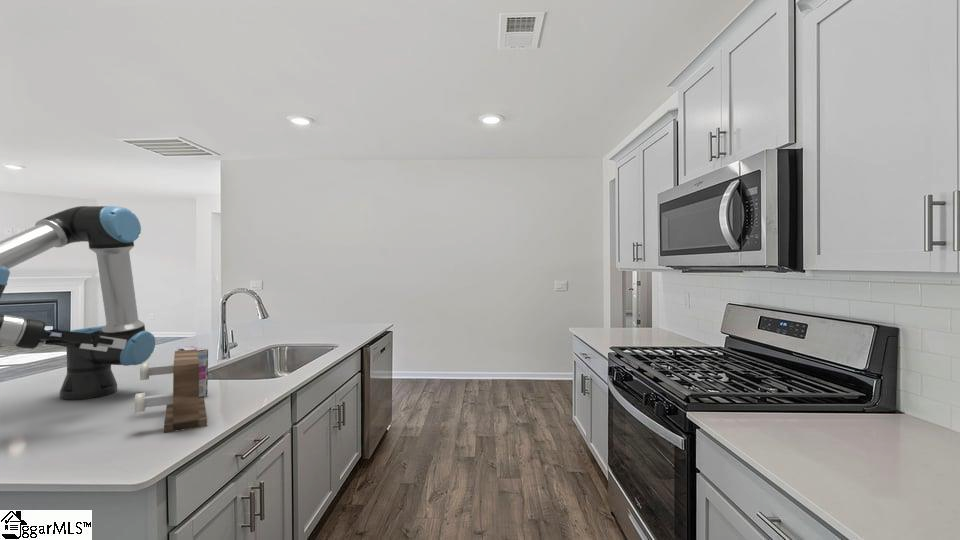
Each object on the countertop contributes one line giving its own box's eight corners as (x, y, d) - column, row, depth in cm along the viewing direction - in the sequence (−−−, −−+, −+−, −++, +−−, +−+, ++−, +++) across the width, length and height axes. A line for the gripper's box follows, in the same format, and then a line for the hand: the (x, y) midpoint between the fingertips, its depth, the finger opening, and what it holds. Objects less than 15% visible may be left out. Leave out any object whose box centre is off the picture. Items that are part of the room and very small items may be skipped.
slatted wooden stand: (166, 408, 143) (167, 351, 142) (203, 403, 148) (204, 348, 148) (164, 432, 123) (164, 366, 122) (207, 425, 128) (207, 362, 128)
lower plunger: (136, 409, 124) (136, 391, 124) (186, 403, 131) (186, 386, 131) (134, 415, 120) (134, 396, 120) (186, 408, 127) (186, 390, 126)
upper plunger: (141, 378, 139) (141, 361, 138) (186, 373, 145) (186, 358, 145) (139, 381, 134) (140, 365, 134) (186, 377, 141) (186, 361, 141)
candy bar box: (208, 396, 156) (209, 349, 156) (193, 400, 151) (193, 351, 151) (191, 391, 162) (192, 345, 161) (176, 394, 157) (176, 347, 157)
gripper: (2, 349, 124) (96, 360, 140) (28, 343, 110) (129, 356, 127) (13, 322, 126) (104, 336, 143) (39, 313, 113) (136, 330, 129)
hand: (116, 345), depth 135 cm, fingers open, 13 cm apart
